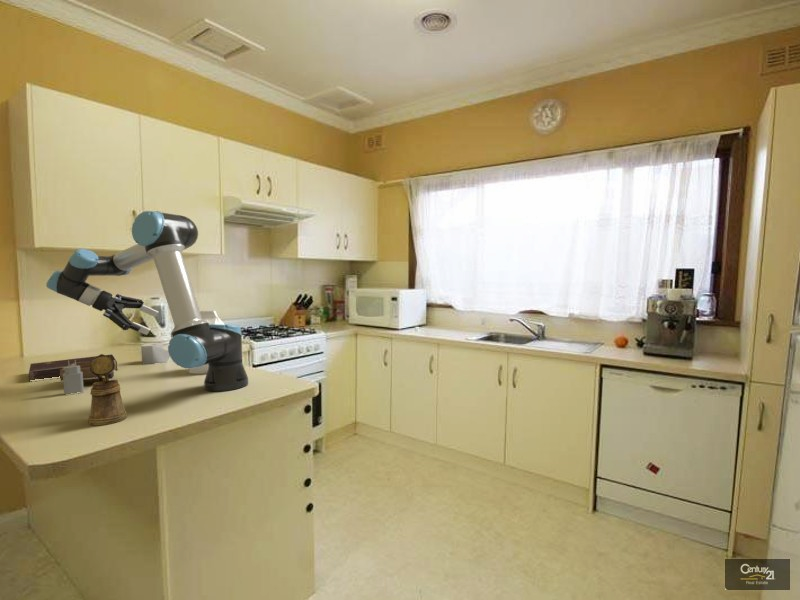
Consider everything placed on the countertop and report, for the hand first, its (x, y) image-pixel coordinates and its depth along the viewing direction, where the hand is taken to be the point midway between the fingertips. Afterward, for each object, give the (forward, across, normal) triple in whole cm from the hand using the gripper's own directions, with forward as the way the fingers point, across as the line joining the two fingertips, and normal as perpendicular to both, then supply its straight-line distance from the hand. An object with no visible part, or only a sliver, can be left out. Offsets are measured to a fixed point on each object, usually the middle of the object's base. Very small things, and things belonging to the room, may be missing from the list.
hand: (153, 323), depth 170 cm
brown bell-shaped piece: (0, +57, +3) cm, 57 cm away
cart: (-8, +12, -28) cm, 32 cm away
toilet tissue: (+12, -19, -33) cm, 40 cm away
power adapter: (-10, +26, -22) cm, 36 cm away
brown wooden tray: (-13, -9, -46) cm, 48 cm away
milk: (+29, +6, -6) cm, 30 cm away
